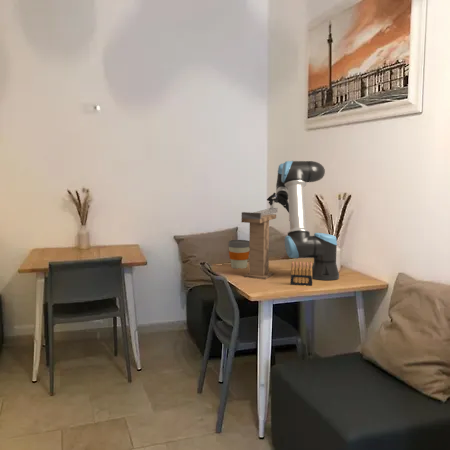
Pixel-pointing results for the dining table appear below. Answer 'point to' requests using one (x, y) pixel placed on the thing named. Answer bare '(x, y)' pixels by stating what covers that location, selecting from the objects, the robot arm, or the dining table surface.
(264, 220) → the stand
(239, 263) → the reusable coffee cup
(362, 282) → the dining table surface
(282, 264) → the dining table surface
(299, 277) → the ammunition clip
